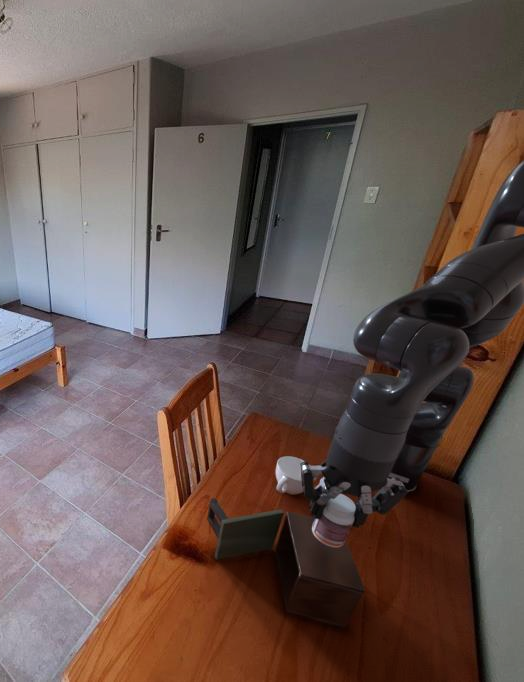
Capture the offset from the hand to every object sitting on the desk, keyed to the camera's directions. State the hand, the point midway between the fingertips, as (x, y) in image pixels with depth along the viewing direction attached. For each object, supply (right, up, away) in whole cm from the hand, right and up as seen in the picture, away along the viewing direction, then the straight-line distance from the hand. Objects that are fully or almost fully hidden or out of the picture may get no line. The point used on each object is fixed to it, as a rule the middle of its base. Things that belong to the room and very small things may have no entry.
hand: (334, 518), depth 61 cm
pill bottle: (0, -4, +2) cm, 5 cm away
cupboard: (+1, -17, +9) cm, 19 cm away
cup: (+9, -7, +28) cm, 30 cm away
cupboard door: (-9, -13, +17) cm, 23 cm away
